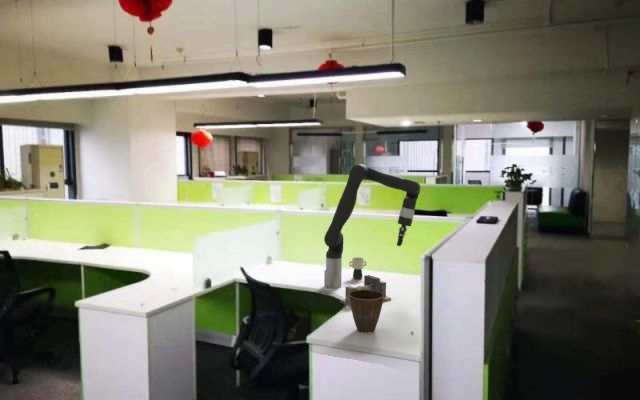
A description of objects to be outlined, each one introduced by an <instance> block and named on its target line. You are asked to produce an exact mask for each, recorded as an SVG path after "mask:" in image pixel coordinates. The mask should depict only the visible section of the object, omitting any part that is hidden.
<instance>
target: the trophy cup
mask: <svg viewBox="0 0 640 400" xmlns="http://www.w3.org/2000/svg"><path fill="white" fill-rule="evenodd" d="M366 266H367V261H366V260H365V259H364V257H359V256H358V257H357V256H355V257H352V261H351V260H350V261H349V267H352V268H353V273H352V278H353V279H355V280H360V279H364V277H363V269H364V267H366Z"/></svg>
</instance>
